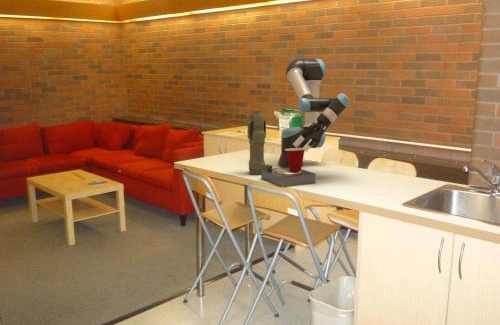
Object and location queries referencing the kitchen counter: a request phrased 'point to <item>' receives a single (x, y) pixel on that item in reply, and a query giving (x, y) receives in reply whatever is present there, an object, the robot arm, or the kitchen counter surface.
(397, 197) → the kitchen counter surface
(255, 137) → the brown tall upright piece
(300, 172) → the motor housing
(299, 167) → the plastic cup
